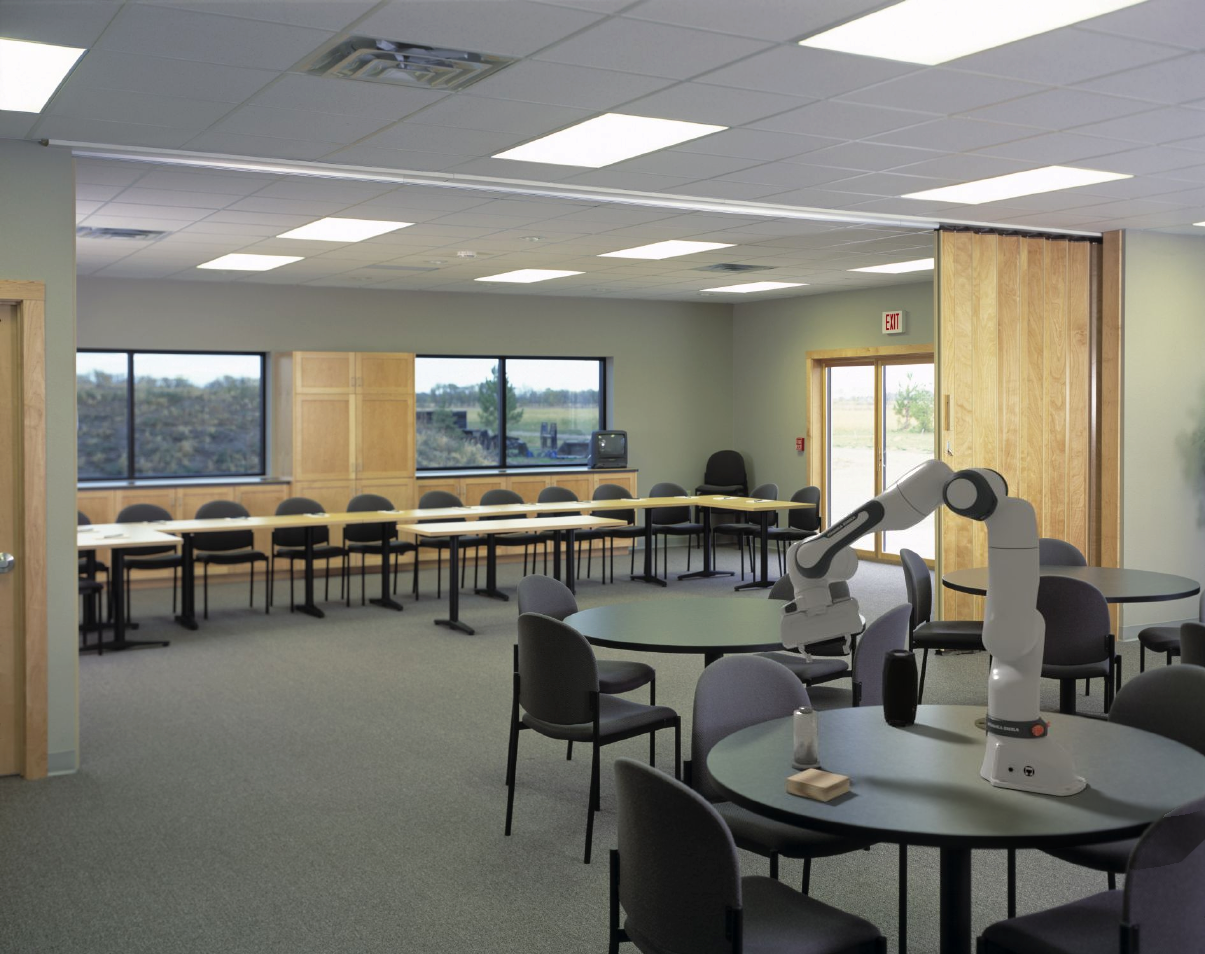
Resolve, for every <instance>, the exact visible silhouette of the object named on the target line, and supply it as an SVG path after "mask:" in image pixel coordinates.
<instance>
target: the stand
mask: <svg viewBox="0 0 1205 954" xmlns="http://www.w3.org/2000/svg"><path fill="white" fill-rule="evenodd" d="M850 779H851V778H850V776H847V775H843V774H842V775H841V774H838V773H832V772H829V771H824V770H820V769H817V770H816V769H811V768H810V769H808V770H805V771H801V772H799V773H796V774H794V775H792V776H789V777H786V779H785V792H786V793H787V794H788V793H789V794H792V795H797V796H801V797H805V798H810V799H813V800H817V801H819V802H821V801H822V802H825V803H826V802H828V801H830V800H833V799H834V798H835V799H836V798H837V797H840V796H841V795H843V794H845V793H848V792H850V791H851V789H850V784H851V783H850V781H851V780H850Z"/></svg>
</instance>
